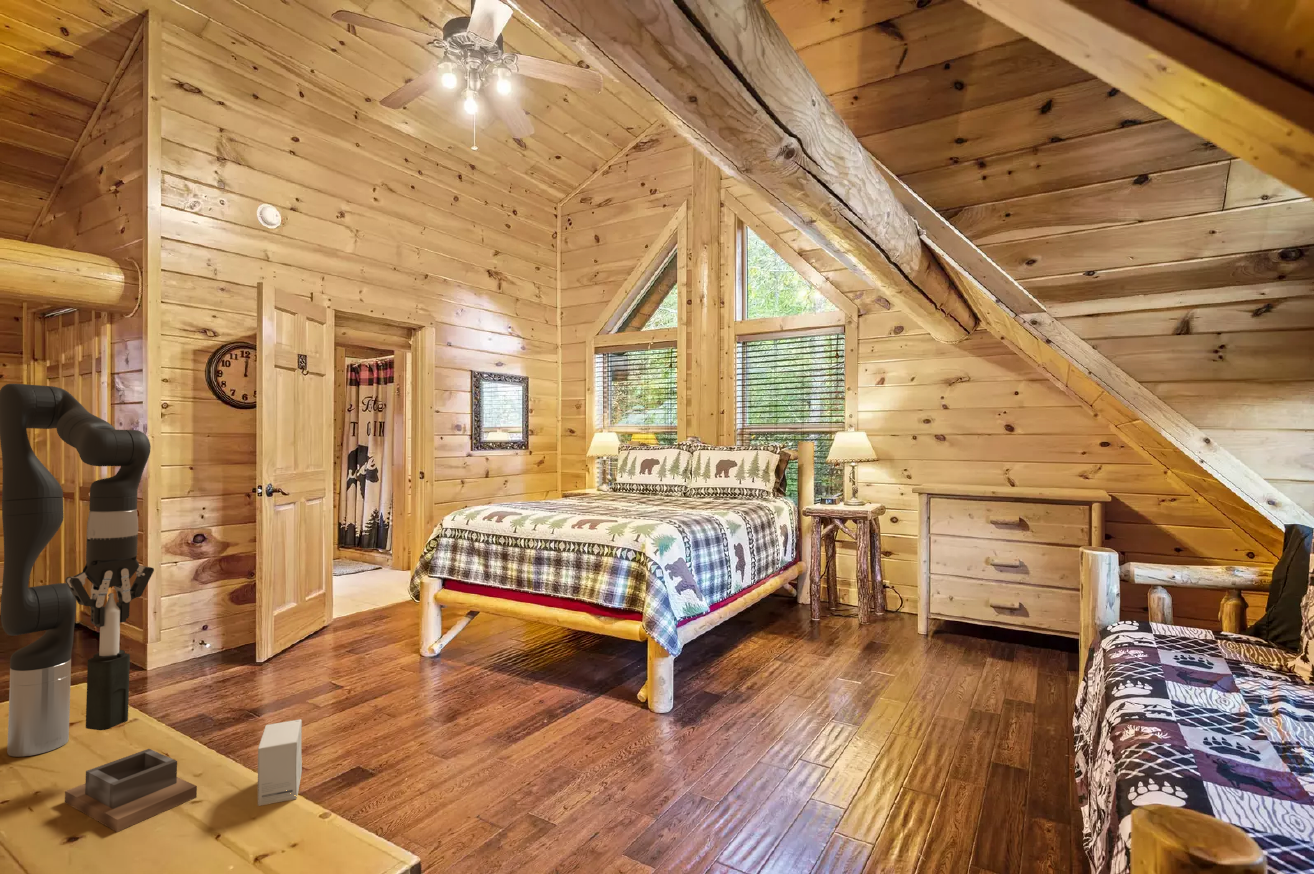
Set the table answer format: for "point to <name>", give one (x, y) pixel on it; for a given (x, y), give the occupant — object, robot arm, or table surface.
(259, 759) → the skincare box
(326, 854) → the table surface
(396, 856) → the table surface
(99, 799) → the socket board
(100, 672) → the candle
